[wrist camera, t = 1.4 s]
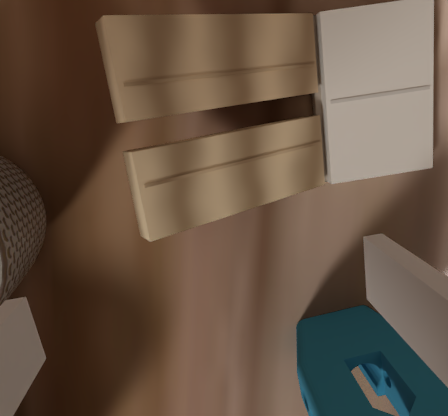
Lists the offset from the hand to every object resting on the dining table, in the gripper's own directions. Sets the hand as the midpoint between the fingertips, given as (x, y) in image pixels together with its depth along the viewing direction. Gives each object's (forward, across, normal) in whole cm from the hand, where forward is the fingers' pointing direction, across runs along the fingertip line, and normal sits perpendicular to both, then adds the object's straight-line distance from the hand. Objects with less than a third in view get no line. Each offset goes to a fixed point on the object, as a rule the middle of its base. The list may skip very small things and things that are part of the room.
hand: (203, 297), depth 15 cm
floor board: (+23, +18, +6) cm, 30 cm away
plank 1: (+19, +3, +10) cm, 21 cm away
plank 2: (+19, +3, +1) cm, 19 cm away
